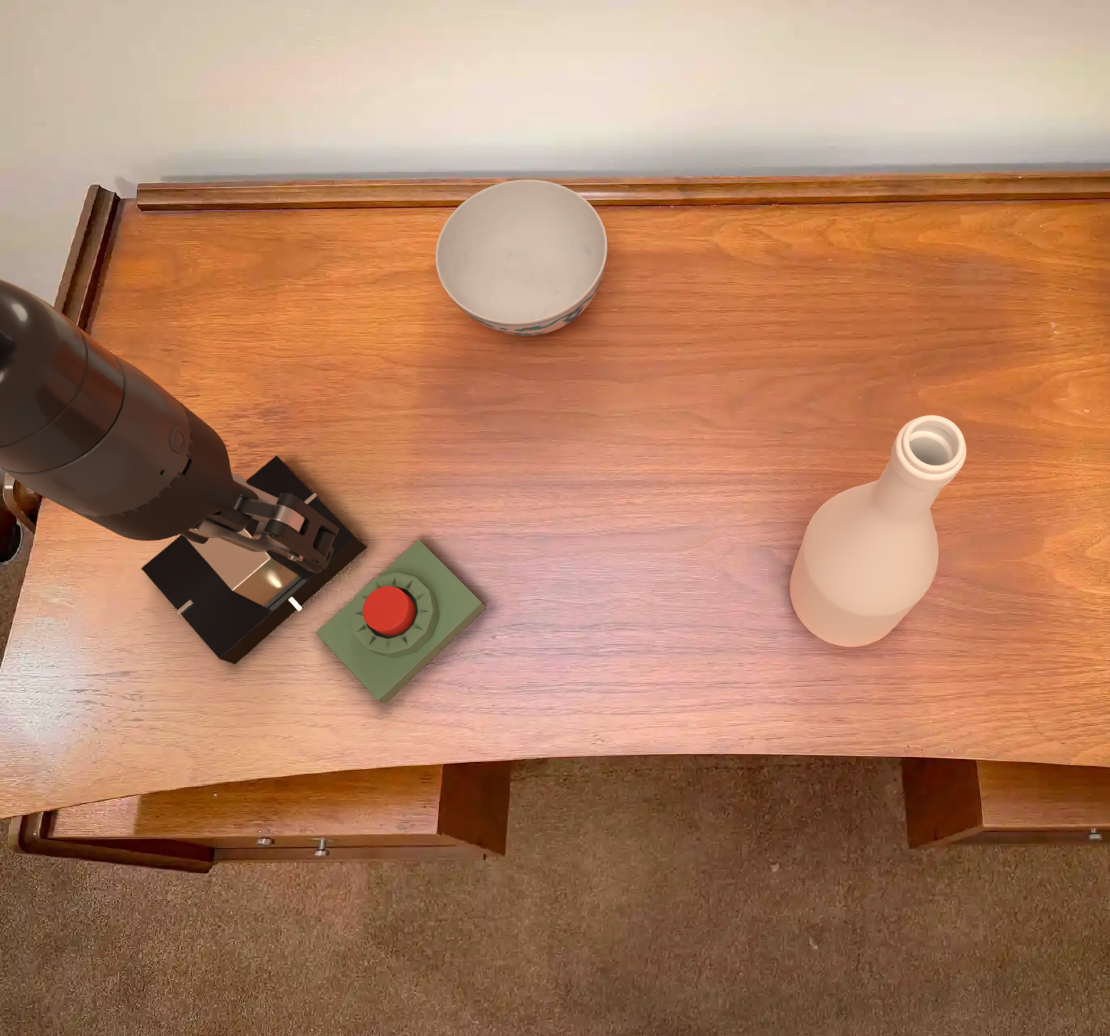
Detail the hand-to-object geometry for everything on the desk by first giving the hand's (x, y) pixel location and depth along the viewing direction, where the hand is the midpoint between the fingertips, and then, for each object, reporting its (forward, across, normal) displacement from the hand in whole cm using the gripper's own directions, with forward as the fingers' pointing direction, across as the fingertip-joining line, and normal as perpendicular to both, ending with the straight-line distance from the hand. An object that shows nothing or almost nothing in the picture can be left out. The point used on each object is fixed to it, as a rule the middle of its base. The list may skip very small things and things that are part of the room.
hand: (264, 544), depth 59 cm
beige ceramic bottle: (+15, +40, +11) cm, 44 cm away
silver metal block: (+12, -8, +1) cm, 15 cm away
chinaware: (+15, +6, +32) cm, 36 cm away
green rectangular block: (+15, +6, -1) cm, 16 cm away
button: (+12, +5, -1) cm, 13 cm away
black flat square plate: (+15, -8, +1) cm, 17 cm away
